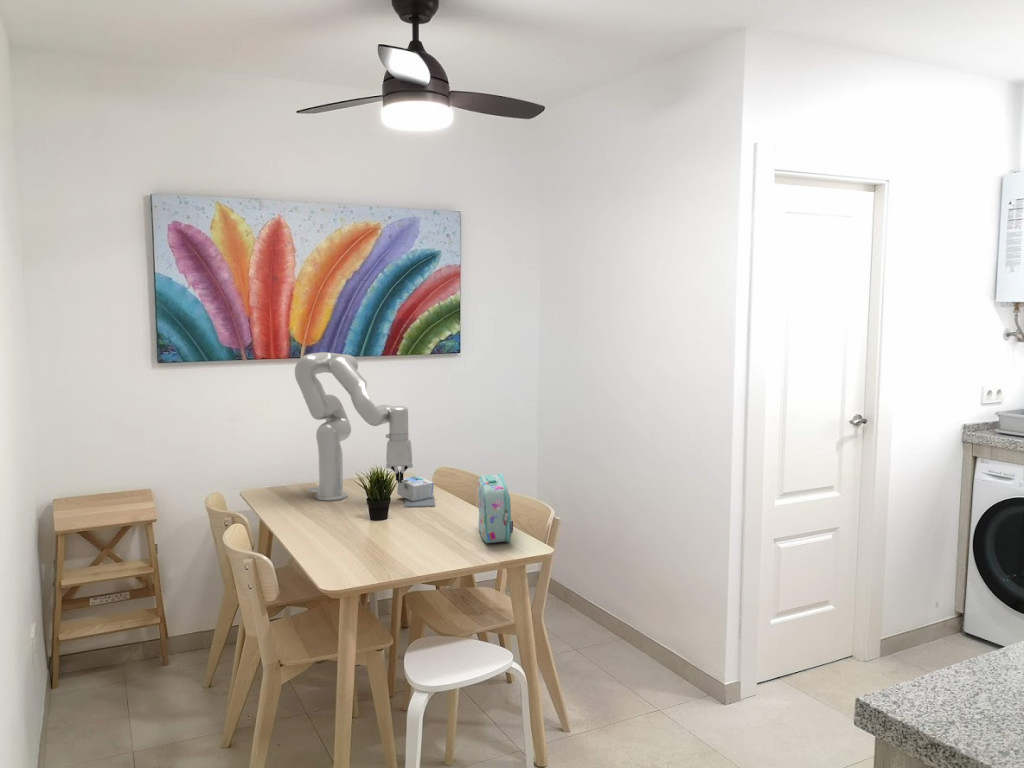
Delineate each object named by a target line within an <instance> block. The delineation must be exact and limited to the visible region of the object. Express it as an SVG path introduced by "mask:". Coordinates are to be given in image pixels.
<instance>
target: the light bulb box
mask: <svg viewBox="0 0 1024 768" xmlns="http://www.w3.org/2000/svg"><path fill="white" fill-rule="evenodd" d="M434 487H435V482H434V481H430V480H429V479H426V478H424V477H422V476H420V475H416V476H415V475H414V476H409V477H403V480H402V483H400V478H399V483H398V482H397V492H396V493H397V495H398V496H401V497H402V498H404V499H405V498H407V499H409V500H411V501H417V500H422V499H427V498H432V497H433V495H434Z"/></svg>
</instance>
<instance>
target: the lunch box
mask: <svg viewBox="0 0 1024 768" xmlns="http://www.w3.org/2000/svg"><path fill="white" fill-rule="evenodd" d="M477 485H478V512H479V513H478V530H479V533H480V535H481V538H482V540H483V541H484V543H486V544H495V543H505V542H506V543H509V542H511V537H512V533H513V532H514V520H512V507H511V495H510V494H509V490H508V489H509V488H508V484H507V483H506V481H505V476H504V474H503V473H497V474H485V475H480V476H479V478H478V484H477Z"/></svg>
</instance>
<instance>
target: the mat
mask: <svg viewBox="0 0 1024 768" xmlns="http://www.w3.org/2000/svg"><path fill="white" fill-rule="evenodd" d="M428 506H435V507H436V501H435V495H434V494H433V497H432V498H427V499H422V500H417V501H411V500H409V499H407V498H404V508H405V507H407V508H429V507H428Z"/></svg>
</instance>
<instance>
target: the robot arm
mask: <svg viewBox="0 0 1024 768" xmlns="http://www.w3.org/2000/svg"><path fill="white" fill-rule="evenodd" d="M358 368H359V363H358V361H357V359H356V358H355V357H354V356H353V355H350V354H345V353H344V354H343V353H336V352H334V353H333V352H328V351H327V352H326V351H325V352H324V351H322V352H321V351H320V352H313V353H308V354H305V355H303V356H302V357H301V358H299V359H298V361H297V362H296V364H295V367H294V377H295V380H296V383H297V385H298V387H299V389H300V391H301V394H302V396H303V399H304V402H305V404H306V406H307V409H308V411H309V413H310V416H311V417H312V418H313V419H314V420H318V421H322V420H325V422H323V423H322V424H320V425H319V426H318V428H317V430H316V435H315V436H316V437H315V438H316V443H317V449H318V478H319V479H318V483H319V484H318V486H316V487H308V490H307V491H308V492H307V493H310V494H315V499H316V498H317V500H320V501H327V502H328V501H339V500H343V499H345V498H347V497H348V493H347V492H346V491H344V473H343V472H344V468H343V464H344V463H343V461H344V460H343V450H342V449H343V448H342V446H341V442H342V441H345V440H347V439H348V438H349V437H350V435H351V433H352V427H351V425H352V424H351V423H350V420H349V418H348V415H347V413H346V410H345V409H344V406H343V403H342V402H341V401H340V399H339V397H337V396H335V395H333V394H326V392H325V390H324V387H323V385H322V383H321V381H320V379H318V378H317V374H318V375H319V374H324V373H326V374H327V373H328V374H332V376H333V377H334V378H335V379H336V380H337V382H338V383H339V384H340V385H341V386H342V387H343V389H344V390H345V391H346V392H347V393H348V394H349V396H350V400H351V402H352V405H353V407H354V409H355V411H356V412H357V414H358V415H359V416H360V417H361V418H362V419H363V420H364V422H366V423H367V424H368V425H370V426H371V427H378V426H381V425H383V424H388V425H389V429H388V431H389V433H388V434H385V439H388V440H387V443H386V456H385V457H386V460H385V461H386V462H385V463H386V465H385V468H386V469H388V470H389V469H390V470H392V471H393V472H394V473H395V481H396V482H397V484H398V483H399V479H400V483H402V480H403V478H404V473H405V472H406V471H407V469H411V468H413V466H414V464H413V452H412V451H413V449H412V442H411V440H410V439H409V409H408V408H407V406H404V405H403V406H401V405H395V406H394V405H388V404H380V405H379V404H378V405H375V404H374V402H373V401H372V400H371V398H370V397H369V395H368V393H367V387H368V383H367V380H366V379H365V378H364V377H363V376H362V374H361V373H360V372H359V371H358ZM398 467H401V469H400V471H399V468H398Z"/></svg>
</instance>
